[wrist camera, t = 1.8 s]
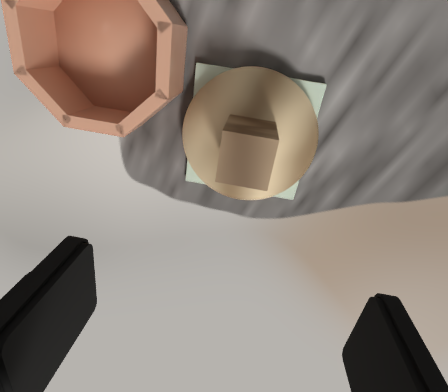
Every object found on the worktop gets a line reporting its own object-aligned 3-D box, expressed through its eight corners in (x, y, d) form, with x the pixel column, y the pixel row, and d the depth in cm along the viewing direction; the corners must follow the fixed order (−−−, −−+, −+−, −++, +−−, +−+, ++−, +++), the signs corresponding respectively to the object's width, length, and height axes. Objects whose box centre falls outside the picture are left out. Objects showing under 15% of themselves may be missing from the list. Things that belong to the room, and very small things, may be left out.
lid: (334, 79, 24) (357, 89, 18) (296, 205, 30) (305, 243, 24) (190, 55, 24) (169, 58, 19) (180, 184, 30) (161, 216, 24)
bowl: (192, -26, 22) (175, -43, 18) (181, 129, 28) (166, 144, 24) (41, -49, 23) (-12, -72, 18) (59, 108, 28) (22, 119, 24)
